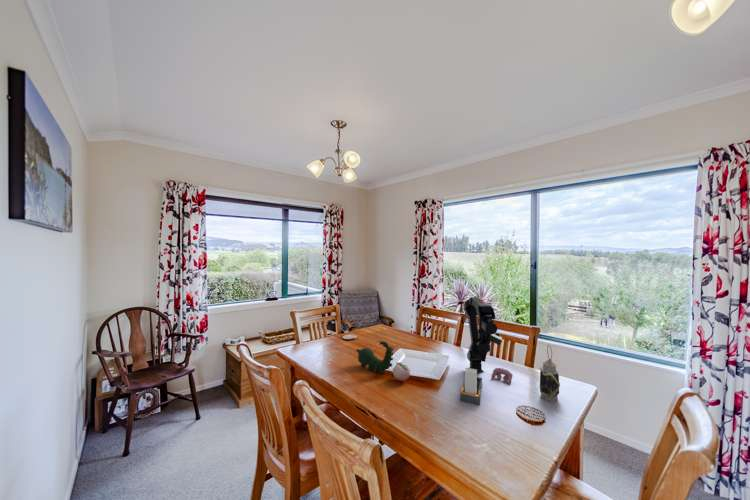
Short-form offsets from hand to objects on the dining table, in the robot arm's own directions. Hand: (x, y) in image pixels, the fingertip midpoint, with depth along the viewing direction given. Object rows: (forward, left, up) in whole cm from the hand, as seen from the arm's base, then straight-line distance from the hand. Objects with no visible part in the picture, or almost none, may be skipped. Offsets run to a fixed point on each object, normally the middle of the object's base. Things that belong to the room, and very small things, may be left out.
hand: (484, 358), depth 146 cm
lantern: (+21, +20, -13) cm, 32 cm away
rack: (+6, -12, -13) cm, 19 cm away
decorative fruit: (-14, -41, -13) cm, 45 cm away
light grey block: (+11, -16, -12) cm, 23 cm away
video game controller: (0, +11, -13) cm, 17 cm away
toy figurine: (-32, -51, -13) cm, 62 cm away
